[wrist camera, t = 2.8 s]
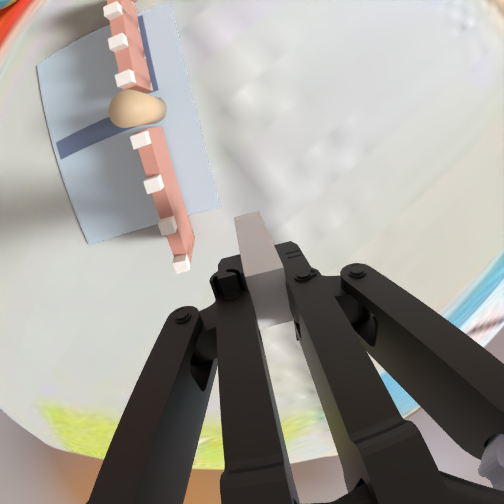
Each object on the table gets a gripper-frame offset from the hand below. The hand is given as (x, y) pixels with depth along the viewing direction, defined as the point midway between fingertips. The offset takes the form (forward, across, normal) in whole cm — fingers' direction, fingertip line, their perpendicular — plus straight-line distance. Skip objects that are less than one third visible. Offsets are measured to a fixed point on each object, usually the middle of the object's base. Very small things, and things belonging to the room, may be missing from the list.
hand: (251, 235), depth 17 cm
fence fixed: (+9, -5, +15) cm, 18 cm away
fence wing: (+8, -5, +3) cm, 10 cm away
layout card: (+9, -9, +10) cm, 16 cm away
